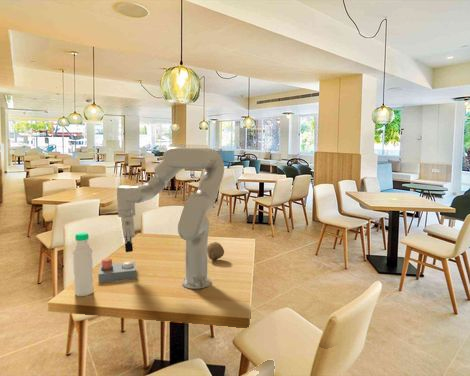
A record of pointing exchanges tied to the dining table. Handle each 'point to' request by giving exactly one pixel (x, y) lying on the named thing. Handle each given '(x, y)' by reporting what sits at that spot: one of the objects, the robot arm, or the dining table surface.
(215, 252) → the natural sponge
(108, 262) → the red plug
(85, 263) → the water bottle
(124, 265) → the domed peg
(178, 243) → the dining table surface
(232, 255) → the dining table surface
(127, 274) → the panel
